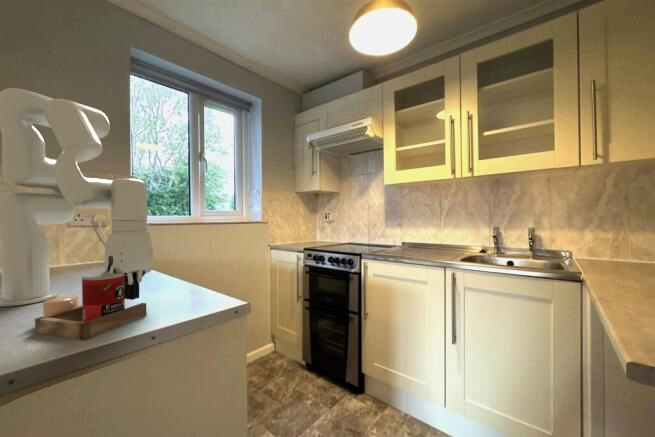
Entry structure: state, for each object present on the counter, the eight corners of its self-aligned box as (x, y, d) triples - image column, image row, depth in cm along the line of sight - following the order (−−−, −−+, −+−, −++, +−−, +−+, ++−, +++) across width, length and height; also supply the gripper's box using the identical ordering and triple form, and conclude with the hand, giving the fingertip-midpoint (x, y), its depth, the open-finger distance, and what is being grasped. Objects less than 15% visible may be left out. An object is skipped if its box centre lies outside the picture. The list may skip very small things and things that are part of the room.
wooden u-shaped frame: (35, 332, 60) (35, 318, 60) (103, 310, 73) (103, 299, 73) (83, 340, 56) (83, 325, 56) (146, 315, 70) (146, 303, 70)
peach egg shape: (36, 324, 65) (36, 302, 65) (67, 315, 71) (66, 295, 71) (55, 326, 63) (54, 304, 63) (84, 317, 69) (84, 296, 69)
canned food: (106, 327, 62) (106, 277, 62) (72, 326, 63) (71, 277, 63) (133, 315, 70) (132, 270, 70) (102, 314, 70) (101, 270, 70)
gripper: (145, 226, 81) (146, 290, 82) (87, 229, 67) (90, 306, 67) (165, 226, 79) (167, 291, 79) (111, 229, 65) (113, 309, 65)
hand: (131, 298), depth 73 cm, fingers closed
